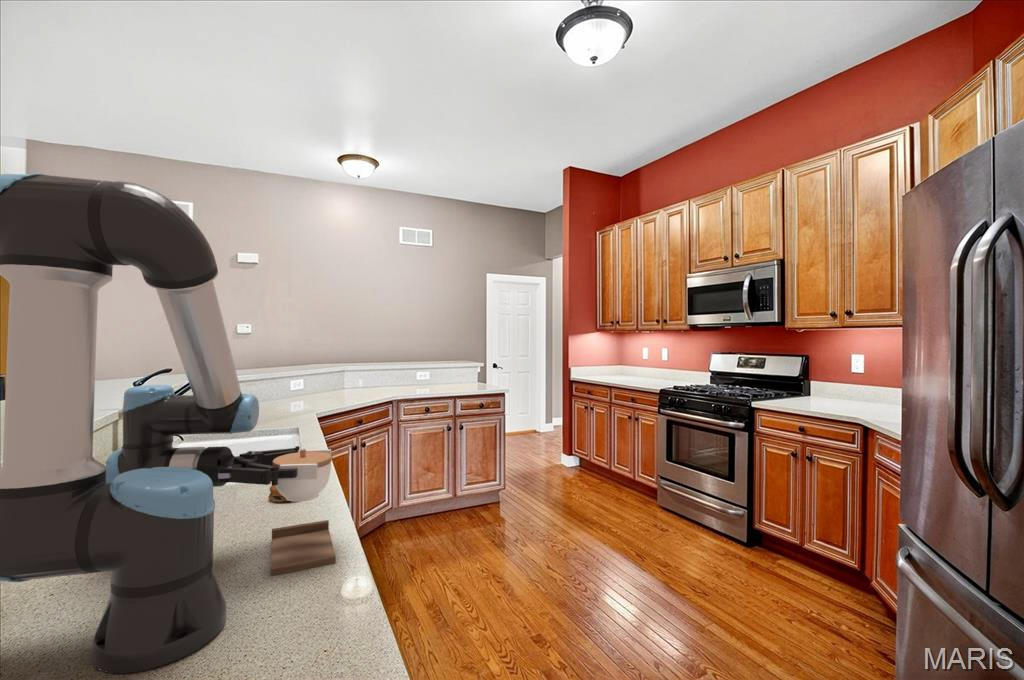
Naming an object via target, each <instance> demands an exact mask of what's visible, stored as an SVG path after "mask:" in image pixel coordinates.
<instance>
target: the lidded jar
mask: <svg viewBox="0 0 1024 680" xmlns="http://www.w3.org/2000/svg"><path fill="white" fill-rule="evenodd" d="M299 450H300V452H297V453H291V454H286V455H282V456H279V457H277V458H275V459H274V460H273V466H276V467H278V469H279V468H280V465H287V464H318V467H317V479H302V480H279V479H278V485H275V486H276V489H277V490H278V492H279V493H280V494H281V495H282V496H284V497H285V499H286V500H287V501H291V503H292V502H293V503H294V502H295V503H299V502H301V503H302V502H306V501H307V502H308V501H310V500H311V501H312V500H314V499H317V498H318V497H319V496H320V493H322V492H323V491H324V490H325V488H326V487H327V486H328V483H329V480H330V476H331V470H332V460H333V457H332V454H331V455H330V454H329V453H325V452H315V451H310V452H306V450H307V449H306V448H302V449H299Z"/></svg>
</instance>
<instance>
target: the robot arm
mask: <svg viewBox="0 0 1024 680" xmlns="http://www.w3.org/2000/svg"><path fill="white" fill-rule="evenodd" d="M216 260H217V259H216V257H215V253H214V251H213V249H212V247H211V244H210V242H209V241H208V240H207V238H206V236H205V235H204V233H203V232H202V230H201V229H200V228H199V226H198V225H197V224H196V223H195V222H194V220H193V219H192V218H191V217H190V216H189V215H188V214H187V213H186V212H185V211H184V210H183V209H182V208H181V207H180V206H179V205H177V203H175V202H174V201H173V200H171V199H169V198H168V197H167V196H165V195H163V194H161V193H160V192H158V191H155V190H154V189H151V188H149V187H147V186H144V185H142V184H138V183H135V182H128V181H122V180H121V181H109V180H102V179H101V180H100V179H90V178H89V179H88V178H81V177H78V178H77V177H69V176H68V177H67V176H57V175H48V174H44V173H33V172H32V173H27V174H21V173H20V174H18V173H4V174H3V173H2V174H0V276H1V277H2V278H3V279H5V280H6V281H7V282H8V284H9V298H8V299H9V300H8V321H7V323H8V324H7V325H8V327H7V344H6V345H7V346H6V347H7V348H6V349H7V350H6V375H5V400H4V401H5V403H4V419H3V420H4V421H3V422H4V423H3V425H4V426H3V449H2V451H3V452H2V466H1V468H0V582H10V583H22V582H28V581H31V580H37V579H38V580H39V579H47V578H59V577H69V576H78V575H86V574H95V573H104V572H105V573H107V572H109V573H110V593H109V594H110V595H109V599H108V601H107V604H106V606H105V609H104V612H103V614H102V617H101V619H100V621H99V624H98V626H97V629H96V631H95V634H94V637H93V639H92V644H91V645H92V646H91V647H92V649H91V652H92V654H91V661H92V664H94V665H93V666H94V667H95V666H96V667H97V668H99V669H101V670H103V671H102V672H104V671H107V672H106V673H108V672H112V673H111V674H131V673H138V672H137V671H139V672H142V671H141V670H144V671H147V670H146V669H148V670H151V669H150V668H152V669H155V667H156V668H159V667H162V666H165V665H169V664H171V663H174V662H176V661H178V660H180V659H182V658H184V657H187V656H189V655H191V654H193V653H194V652H196V651H198V650H200V649H201V648H203V647H204V646H205V645H207V644H208V643H210V642H211V641H212V640H213V639H214V638H215V637H217V635H218V634H219V633H220V632H221V631H222V629H223V628H224V626H225V624H226V621H227V603H226V599H225V597H224V594H223V592H222V590H221V587H220V584H219V582H218V580H217V577H216V575H215V572H214V528H215V527H214V526H215V525H214V522H215V509H216V502H215V499H214V498H215V497H214V488H215V487H217V488H219V487H224V486H225V485H226V484H227V483H233V484H234V483H236V484H251V485H265V486H268V485H271V486H275V485H278V479H279V480H302V479H317V467H318V464H287V465H280V468H279V469H278V467H276V466H273V460H274V459H275V458H277V457H279V456H282V455H286V454H291V453H297V452H300V450H301V449H300V446H299V445H295V447H293V448H292V447H291V448H281V449H280V448H279V449H268V450H258V451H255V450H254V451H253V450H249V451H246V452H244V453H240V454H239V455H237V456H235V455H234V454H233V451H232V449H231V448H230V447H228V446H207V447H206V446H185V447H183V446H182V447H173V442H174V436H185V435H186V436H187V435H216V434H217V435H218V434H219V435H220V434H221V435H222V434H223V435H225V434H227V435H228V434H229V435H231V434H238V433H240V434H241V433H247V432H251V431H253V430H254V429H255V428H256V426H257V424H258V420H259V415H260V404H259V403H260V402H259V399H258V398H257V396H256V395H254V394H248V393H243V392H242V389H241V386H240V382H239V379H238V374H237V370H236V366H235V362H234V358H233V354H232V351H231V348H230V341H229V339H228V334H227V331H226V326H225V323H224V319H223V315H222V312H221V311H222V310H221V307H220V303H219V300H218V295H217V292H216V291H217V290H216V286H215V283H214V280H215V279H216V278H217V277H218V274H219V269H218V264H217V261H216ZM114 266H126V267H127V266H133V267H135V268H136V269H138V270H139V271H140V272H141V274H142V277H143V280H144V282H145V283H146V285H148V287H151V288H153V289H155V290H156V293H157V296H158V298H159V301H160V303H161V307H162V309H163V312H164V315H165V318H166V322H167V323H168V324H167V325H168V327H169V330H170V332H171V335H172V338H173V342H174V344H175V347H176V349H177V352H178V355H179V358H180V361H181V363H182V364H181V365H182V366H183V369H184V372H185V375H186V377H187V382H188V384H189V387H190V390H191V392H192V395H189V394H188V395H185V394H184V395H183V394H181V395H180V394H179V395H178V394H176V393H175V390H174V387H173V386H172V385H167V384H152V385H150V384H146V385H136V386H131V387H128V388H127V389H126V390H125V391H124V393H123V403H122V410H121V414H122V446H121V448H120V449H117V450H115V451H113V452H111V453H110V454H109V456H107V458H106V460H105V464H103V463H101V462H100V461H99V460H97V459H95V458H94V456H93V450H94V449H93V448H94V447H93V446H94V421H95V420H94V419H95V418H94V417H95V392H96V391H95V389H96V388H95V387H96V385H95V384H96V383H95V382H96V361H97V360H96V359H97V358H96V357H97V356H96V354H97V331H98V328H97V327H98V300H99V299H98V298H99V297H98V295H99V290H101V288H102V287H104V286H106V285H107V284H109V283H110V282H112V281H113V267H114ZM310 451H315V452H325V453H329V454H330V455H331V456H332V449H331V448H330V449H328V448H327V449H306V452H310ZM158 666H159V667H158ZM96 667H95V668H96ZM97 668H96V669H97ZM99 669H98V670H99ZM101 670H100V671H101Z"/></svg>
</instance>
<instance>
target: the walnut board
mask: <svg viewBox="0 0 1024 680" xmlns="http://www.w3.org/2000/svg"><path fill="white" fill-rule="evenodd" d="M329 523H330V521H329V520H328V519H327V520H320V521H314V522H313V521H312V522H308V523H300V524H294V525H287V526H281V527H276V528H271V545H270V546H271V548H270V550H271V551H270V552H271V553H270V576H271V577H273V576H277V575H282V574H286V573H291V572H296V571H302V570H307V569H312V568H316V567H317V566H318V567H321V566H322V565H323V566H326V565H325V564H328V565H331V564H330V563H333V564H335V563H334V562H336V558H337V557H336V553H335V548H334V544H333V542H332V541H333V540H332V536H331V534H330V530H329V529H330V528H329ZM336 563H337V562H336Z"/></svg>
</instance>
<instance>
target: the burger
mask: <svg viewBox="0 0 1024 680" xmlns="http://www.w3.org/2000/svg"><path fill="white" fill-rule="evenodd" d="M269 492H270V493H269V495H268V499H269V501H270V500H271V501H273V502H272V503H288V502H287V500H286V499H285V497H284V496H282V495H281V494H280V493H279V492H278V490H277V489H276V486H272V485H271V486H270V487H269ZM271 501H270V502H271ZM274 501H275V502H274ZM284 501H286V502H284Z"/></svg>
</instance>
